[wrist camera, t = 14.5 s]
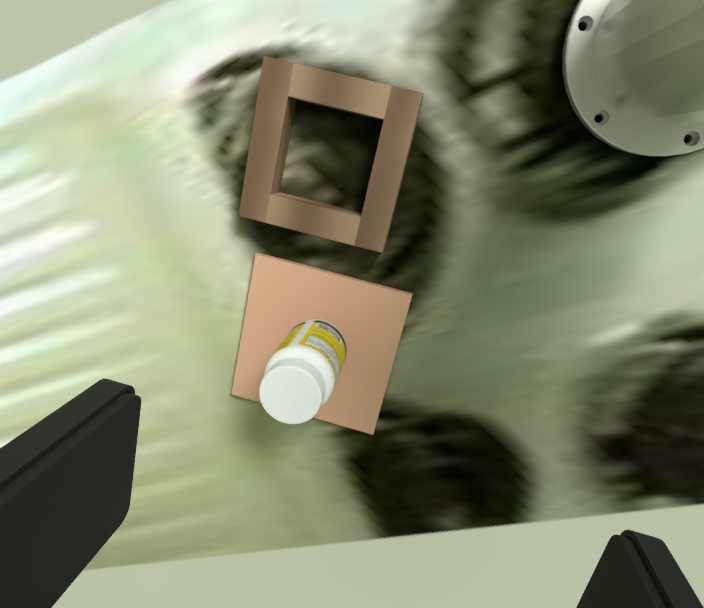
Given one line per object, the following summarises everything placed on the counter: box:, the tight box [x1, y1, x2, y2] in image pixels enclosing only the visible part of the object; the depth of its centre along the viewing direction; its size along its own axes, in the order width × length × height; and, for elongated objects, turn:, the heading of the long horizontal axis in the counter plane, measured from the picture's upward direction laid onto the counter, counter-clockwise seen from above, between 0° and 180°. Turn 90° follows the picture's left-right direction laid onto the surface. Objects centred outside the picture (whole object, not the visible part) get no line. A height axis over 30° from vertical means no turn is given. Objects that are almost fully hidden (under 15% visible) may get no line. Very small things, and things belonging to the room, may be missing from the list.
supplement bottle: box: [259, 319, 347, 424], centre depth 35 cm, size 5×5×8 cm
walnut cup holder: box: [238, 56, 423, 253], centre depth 35 cm, size 10×10×2 cm
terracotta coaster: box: [231, 253, 412, 435], centre depth 39 cm, size 12×12×1 cm
